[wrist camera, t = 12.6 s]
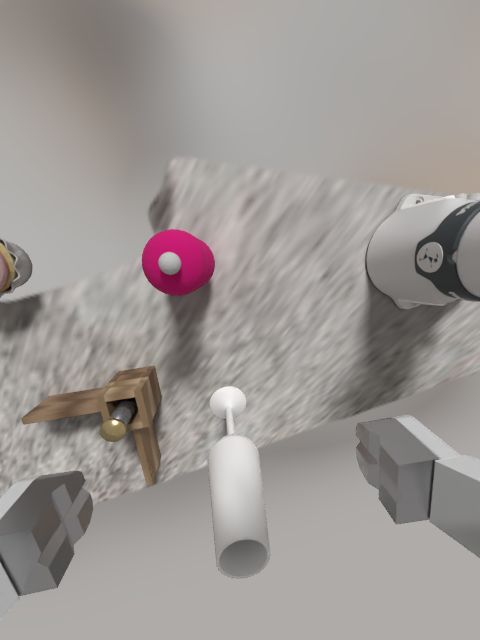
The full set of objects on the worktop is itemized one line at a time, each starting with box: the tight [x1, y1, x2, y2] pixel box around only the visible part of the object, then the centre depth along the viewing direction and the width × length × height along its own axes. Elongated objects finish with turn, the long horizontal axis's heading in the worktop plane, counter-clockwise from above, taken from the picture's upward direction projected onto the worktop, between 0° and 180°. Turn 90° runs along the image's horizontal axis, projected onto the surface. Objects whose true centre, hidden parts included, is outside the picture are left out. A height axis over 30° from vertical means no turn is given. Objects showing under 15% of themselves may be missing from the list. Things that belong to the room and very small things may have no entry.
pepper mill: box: [142, 229, 215, 296], centre depth 28 cm, size 7×7×20 cm
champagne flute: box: [208, 387, 270, 578], centre depth 33 cm, size 7×7×24 cm
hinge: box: [21, 366, 162, 485], centre depth 39 cm, size 18×18×8 cm
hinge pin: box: [100, 397, 137, 442], centre depth 34 cm, size 3×3×8 cm
